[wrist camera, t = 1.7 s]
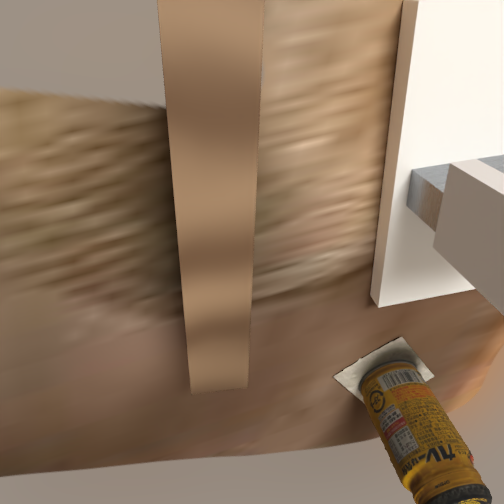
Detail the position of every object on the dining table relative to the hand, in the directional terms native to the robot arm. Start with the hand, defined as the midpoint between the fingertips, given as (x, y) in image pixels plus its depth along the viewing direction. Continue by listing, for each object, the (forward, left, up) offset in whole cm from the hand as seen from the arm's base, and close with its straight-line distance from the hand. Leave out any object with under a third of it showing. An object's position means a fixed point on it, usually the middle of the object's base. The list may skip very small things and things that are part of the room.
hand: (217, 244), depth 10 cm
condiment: (+27, +14, -13) cm, 33 cm away
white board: (+6, +17, -13) cm, 22 cm away
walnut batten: (+6, 0, -13) cm, 14 cm away
